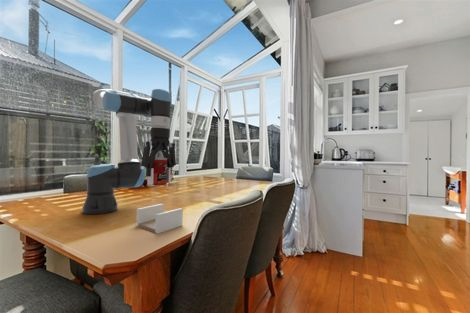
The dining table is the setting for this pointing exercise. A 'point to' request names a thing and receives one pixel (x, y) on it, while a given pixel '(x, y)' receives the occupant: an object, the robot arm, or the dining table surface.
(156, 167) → the canned food
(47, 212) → the dining table surface
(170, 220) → the holder
